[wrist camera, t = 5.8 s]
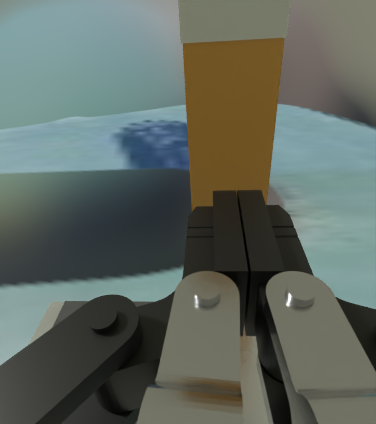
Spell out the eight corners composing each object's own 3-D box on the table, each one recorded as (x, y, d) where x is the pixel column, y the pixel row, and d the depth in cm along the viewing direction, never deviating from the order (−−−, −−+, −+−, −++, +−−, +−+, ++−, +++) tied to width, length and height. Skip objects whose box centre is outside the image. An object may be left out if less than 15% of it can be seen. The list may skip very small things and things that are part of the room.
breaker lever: (196, 311, 16) (170, -133, 7) (197, 284, 17) (177, -106, 9) (256, 312, 16) (306, -146, 7) (251, 284, 17) (287, -117, 8)
